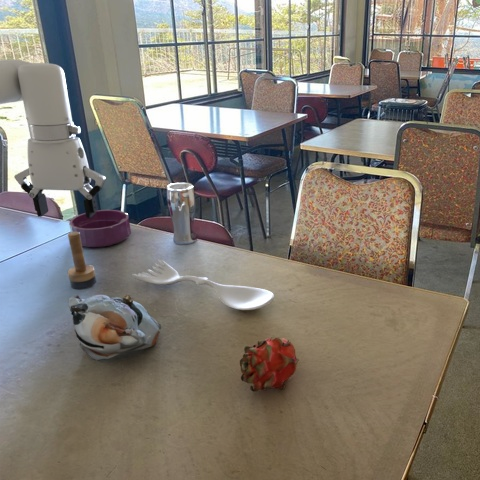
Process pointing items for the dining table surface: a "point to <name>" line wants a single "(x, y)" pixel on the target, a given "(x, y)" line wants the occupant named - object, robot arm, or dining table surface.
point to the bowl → (101, 228)
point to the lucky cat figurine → (112, 325)
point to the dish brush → (79, 265)
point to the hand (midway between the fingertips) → (67, 215)
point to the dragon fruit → (268, 364)
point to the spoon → (228, 294)
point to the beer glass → (182, 212)
